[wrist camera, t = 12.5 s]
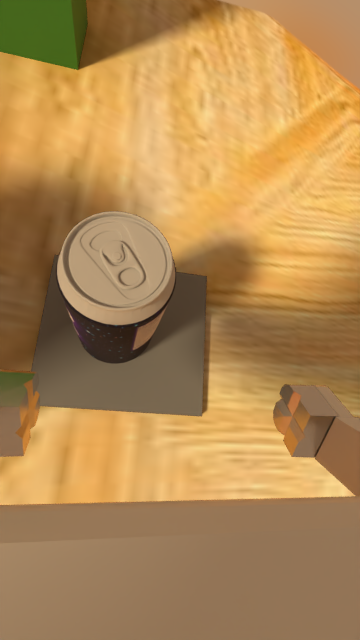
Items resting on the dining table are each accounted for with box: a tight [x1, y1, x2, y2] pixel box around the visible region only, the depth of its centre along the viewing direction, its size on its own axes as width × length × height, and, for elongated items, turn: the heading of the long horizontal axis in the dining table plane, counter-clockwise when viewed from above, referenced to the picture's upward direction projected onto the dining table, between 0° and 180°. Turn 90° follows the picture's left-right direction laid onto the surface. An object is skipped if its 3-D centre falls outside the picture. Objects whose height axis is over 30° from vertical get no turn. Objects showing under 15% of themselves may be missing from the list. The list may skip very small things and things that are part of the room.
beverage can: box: [56, 211, 176, 364], centre depth 20 cm, size 6×6×12 cm
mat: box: [31, 255, 207, 416], centre depth 26 cm, size 12×13×1 cm
